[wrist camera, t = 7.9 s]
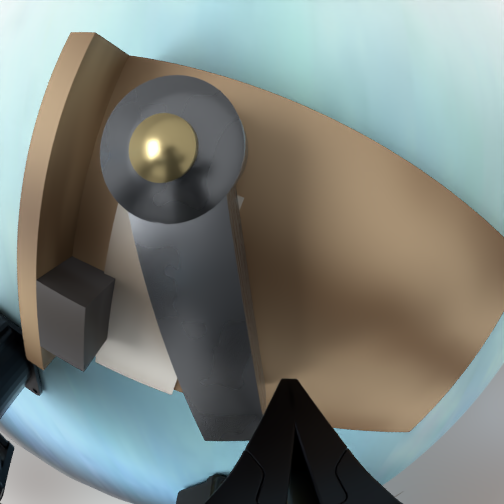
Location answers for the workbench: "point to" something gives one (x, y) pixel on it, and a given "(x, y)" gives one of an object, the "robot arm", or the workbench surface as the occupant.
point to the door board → (262, 252)
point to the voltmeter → (200, 491)
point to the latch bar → (191, 241)
